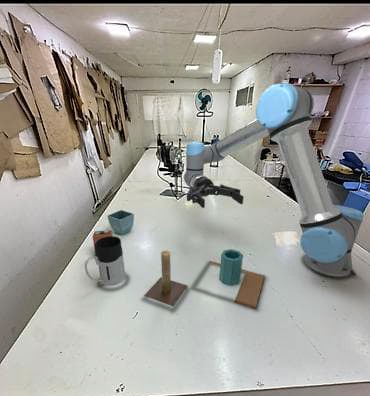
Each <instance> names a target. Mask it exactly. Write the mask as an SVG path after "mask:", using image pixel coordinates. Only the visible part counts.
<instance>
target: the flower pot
mask: <svg viewBox="0 0 370 396" xmlns="http://www.w3.org/2000/svg"><path fill="white" fill-rule="evenodd" d="M106 217H107V220H108V224H109V226H110V228H111V229H112V231H113V232H115V234H118V235H122V236H123V235H125V234H127V233H129V232H130V231H131V230H132V229H133V227H134V222H135V221H134V220H135V213H134V212H133V213H132V212H129V211H126V210H123V209H120V210H117V211H115V212H113V213H110V214H108V215H107V216H106Z"/></svg>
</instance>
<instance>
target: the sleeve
mask: <svg viewBox="0 0 370 396" xmlns="http://www.w3.org/2000/svg"><path fill="white" fill-rule="evenodd" d="M243 260H244V254H243V253H242V252H240V250H236V249H232V248H229V249H224V250H223V251H222V253H221V254H220V263H219V264H220V266H219V277H218V278H219V281H220V283H222V284H223V285H225V286H228V287H234V286H237V285H239V283H240V281H241V275H242V272H241V269H242V267H243Z"/></svg>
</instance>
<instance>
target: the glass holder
mask: <svg viewBox="0 0 370 396" xmlns="http://www.w3.org/2000/svg"><path fill="white" fill-rule="evenodd" d="M96 250H97V256H93V255H92V256H89V257H88V258H87V259H86V260H85V262H84V272H85V274H86V276H87V277H88V278H89V279H90V280H91V281H94V282H99V285H100V286H102V285H105V286H116V285H119V284H121V283H123V282H124V281H125V279H126V269H125V260H124V259H125V258H124V251H123V246H122V239H121V238H120V237H118V236H114V235H113V236H109V237H104V238H101V239H99V240H98V241H97V242H96ZM92 259H94V261H95V264H96V265H97V266H98V270H99V278H100V279H95V278H93V277H92V276H91V275H90V273H89V271H88V264H89V262H90V260H92Z"/></svg>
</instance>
